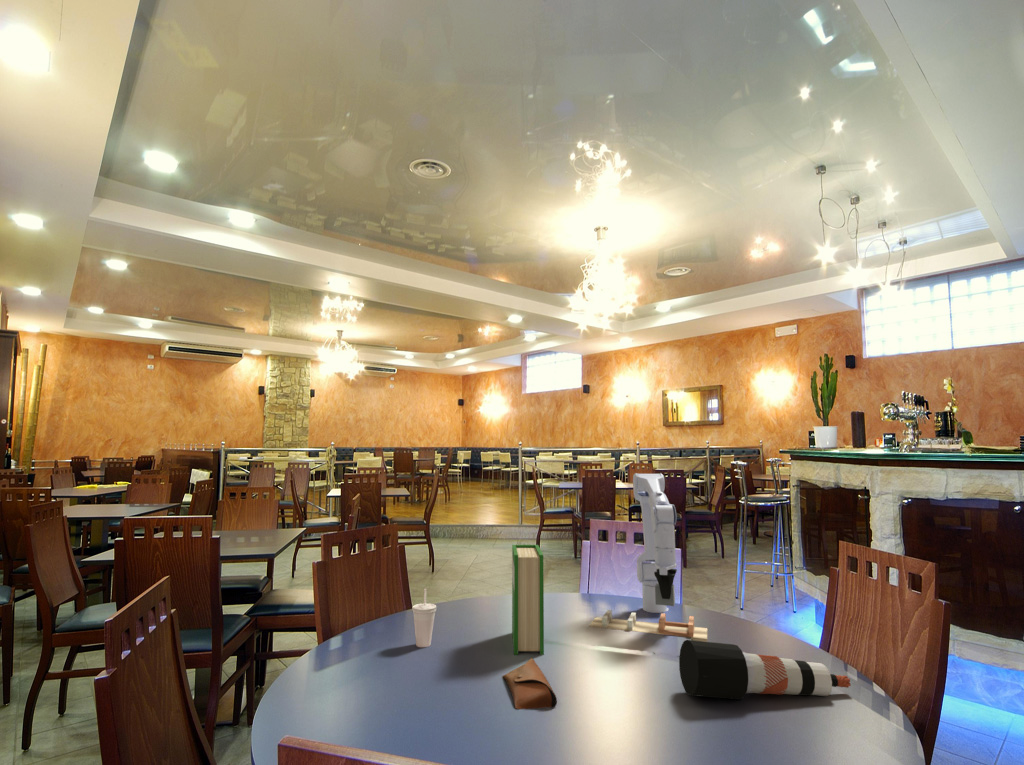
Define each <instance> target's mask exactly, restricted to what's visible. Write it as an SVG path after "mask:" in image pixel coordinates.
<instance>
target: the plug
mask: <svg viewBox="0 0 1024 765" xmlns="http://www.w3.org/2000/svg"><path fill="white" fill-rule="evenodd" d="M675 594H676V593H675V584H673V585H672V588H671V596H670V599H662V596H661V592H660V587H659V584H657V583H656V585H655V600H656V605H666V607H668V606H669V607H674V606H675V604H676V596H675Z"/></svg>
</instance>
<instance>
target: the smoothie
mask: <svg viewBox="0 0 1024 765" xmlns="http://www.w3.org/2000/svg"><path fill="white" fill-rule="evenodd" d="M423 590H424V591H423V603H418V604H417V603H416V604H414V605H413V606H412V607H411V608H412V609H411V610H412V612H413V621H414V622H413V623H414V624H413V625H414V633H415V635H414V636H415V644H416V647H418V648H428V647H430V646H431V645H432V644H431V643H432V637H433V630H434V622H435V616H436V615H435V614H436V611H437V605H436V604H434V603H428V602H427V588H424V589H423Z"/></svg>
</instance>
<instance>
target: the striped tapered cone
mask: <svg viewBox="0 0 1024 765" xmlns="http://www.w3.org/2000/svg"><path fill="white" fill-rule="evenodd" d="M679 650H680V651H679V658H678V663H679V664H678V666H679V675H680V680H681V686H682V687H683V689H684V692H686V693H687V695H688V696H697V697H707V698H716V699H717V698H720V699H728V700H729V699H731V700H743V699H744V698H745V697H746V694H750V693H754V694H759V695H768V694H770V695H777V696H778V695H779V696H783V695H791V696H792V695H793V696H794V695H795V696H796V695H801V696H819V697H820V696H821V697H827V696H830V695H831V693H832V689H833V687H834V688H835V687H836V688H839V687H840V688H846V689H848V688H849V687H851V679H850V678H849V677H848V676H847V675H840V674H839V675H837V674H834V673H830V671H829V669H828V667H827V666H826V665H825V664H823V663H821V662H820V663H819V662H811V661H806V660H805V661H804V660H796V659H791V658H783V657H779V656H776V655H766V654H757V653H748V652H744V651H742V649H741V648H740V647H739V645H736V644H733V643H724V642H712V641H707V642H704V641H694V640H691V639H686V640H684V641H683V642H682V644H681V647H680V649H679Z"/></svg>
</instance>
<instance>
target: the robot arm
mask: <svg viewBox="0 0 1024 765" xmlns="http://www.w3.org/2000/svg"><path fill="white" fill-rule="evenodd" d="M665 481H666V480H665V475H663V474H662V472H661V473H637V472H635V473H634V474H633V477H632V487H633V489H632V490H633V496H634V500H637V501H638V502H639V504H640V508H641V518H642V521H641V522H642V532H643V533H642V534H643V544H644V552H643V553H641V554H639V556H638V557H637V559H636V576H637V577H636V578H637V581H639V583H641V585H642V586H641V588H642V592H641V593H642V610H643V611H644V612H647V613H654V614H661V613H663V614H664V613H665V612H669V607H667V605H656V600H655V585H656V583H657V584H659V587H660V592H661V596H662V599H670V596H671V588H672V585H674V580H675V577H676V573H677V572H678V570H677V569H676V568H677V565H678V564H677V562H676V561H677V560H676V536H675V532H676V531H675V526H676V524H677V510H676V507H675V504H671V503H670V501H669V499H668V497H667V495H666V493H665V487H666V482H665Z"/></svg>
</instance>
